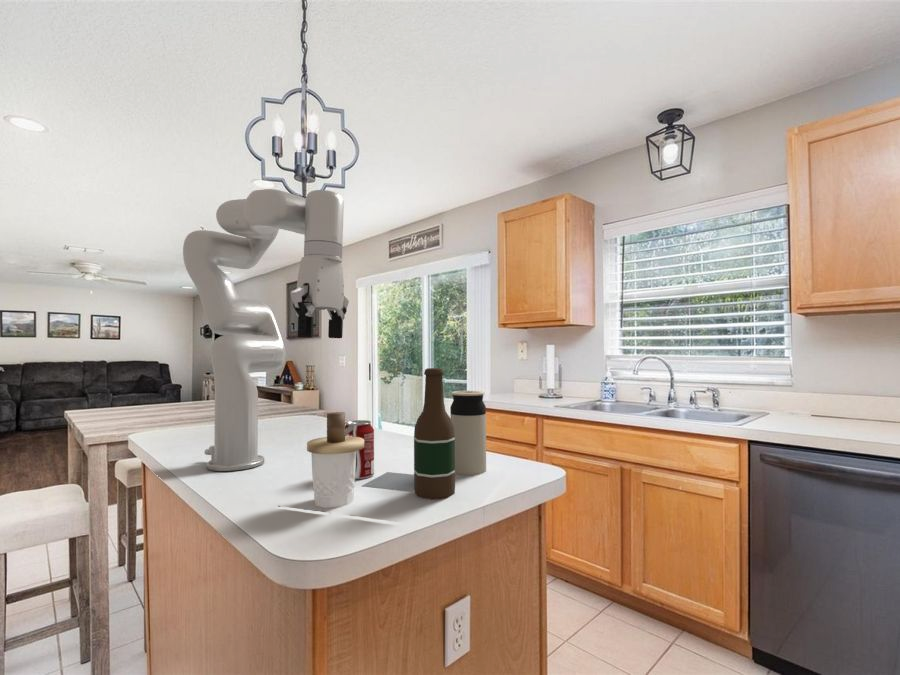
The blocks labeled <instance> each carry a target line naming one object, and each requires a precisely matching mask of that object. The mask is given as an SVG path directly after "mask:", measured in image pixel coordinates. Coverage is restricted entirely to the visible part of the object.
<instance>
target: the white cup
mask: <svg viewBox="0 0 900 675" xmlns="http://www.w3.org/2000/svg"><path fill="white" fill-rule="evenodd" d="M310 453H311V452H310ZM310 455H311V473H312V488H313V501H314V502H313V503H314V506H316V507H319V508H329V509H332V508H341V507H344V506H345V507H346V506H348V505H351V503H353V502H354V492H355V491H354V490H355V486H356V485H355V482H356V480H355V471H356V451H354V452H349V453H341V454H316V453H311V454H310Z"/></svg>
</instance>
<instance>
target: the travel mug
mask: <svg viewBox="0 0 900 675" xmlns="http://www.w3.org/2000/svg"><path fill="white" fill-rule="evenodd" d="M451 395H452V400H453V401H452V403H451V405H450V411H449V412H450V415H449V417H450V419H451V421H452V424H453V426H454V434H455V475H463V476H472V475H473V476H476V475H482V474H484V473H486V472H487V410H486V409H487V406H486V405H485V402H484V401H483V400H484V395H485V392H484V391H482V390H455V391H451Z"/></svg>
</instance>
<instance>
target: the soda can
mask: <svg viewBox="0 0 900 675" xmlns="http://www.w3.org/2000/svg"><path fill="white" fill-rule="evenodd" d="M371 423H372V421H371V420H366V419H357V420H355V419H354V420H347V421H345V436H354V437H360V438H363V439H364V448H363V449H361V450H358V451H356V471H355V481H356V480H365V479H369V478H371V477H373V476H374V474H375V430H374V429H375V428H374V427H373V426H372V424H371Z"/></svg>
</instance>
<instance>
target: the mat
mask: <svg viewBox="0 0 900 675" xmlns="http://www.w3.org/2000/svg"><path fill="white" fill-rule="evenodd" d="M361 487H366V488H374V489H383V490H384V489H385V490H390V491H391V490H392V491H393V490H394V491H400V492H401V491H403V492H409V493H410V492H411V493H412V492H413V491H415V489H414V473H412V474H410V473H401V472H393V471H392V472H389V471H386V472H384V473H383V474H381V475H379V476H377V477H375V478H374V479H371V480H369V481H368V482H366V483H364V484H362V485H361Z"/></svg>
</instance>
